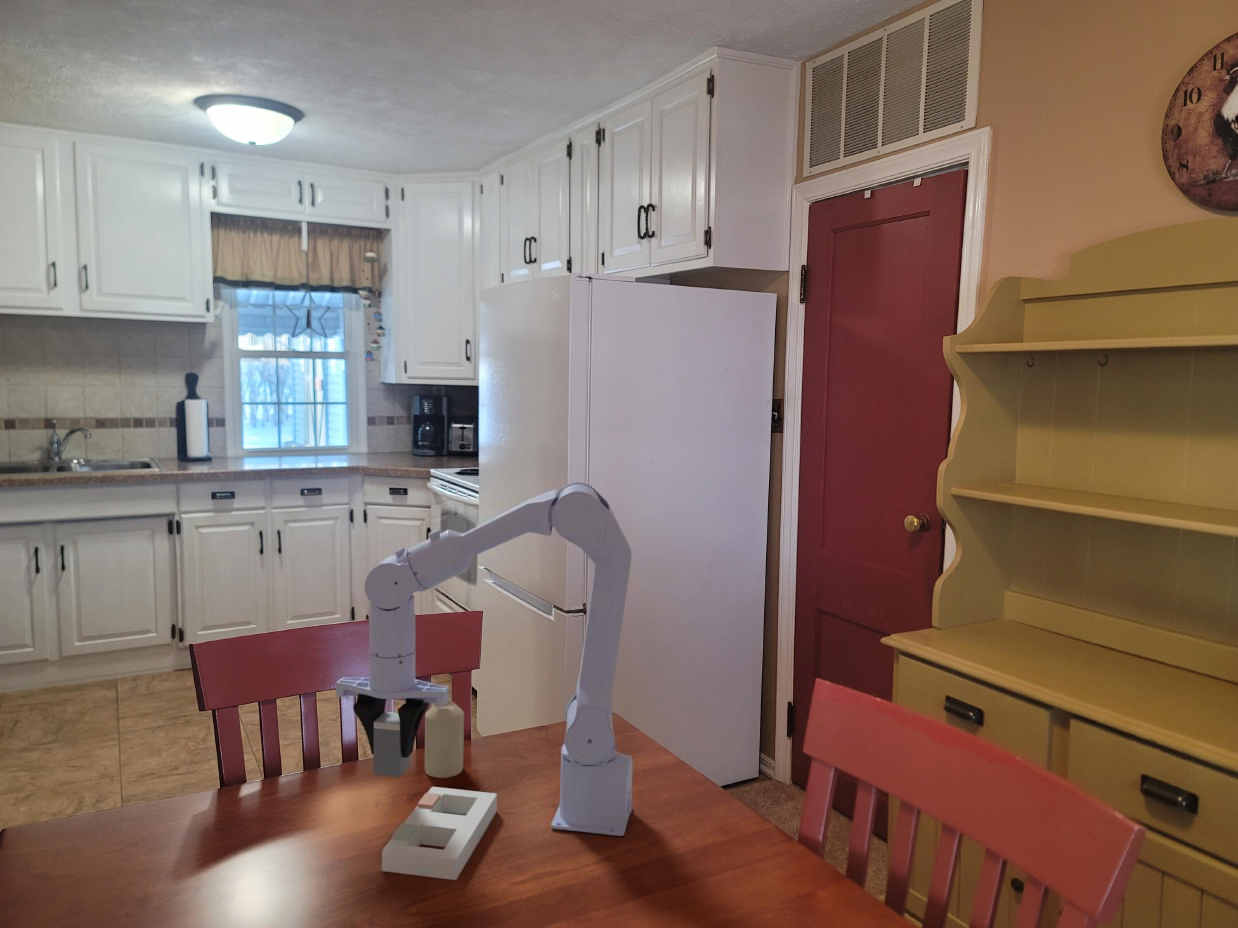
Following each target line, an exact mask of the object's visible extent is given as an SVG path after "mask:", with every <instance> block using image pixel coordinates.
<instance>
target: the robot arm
mask: <svg viewBox="0 0 1238 928" xmlns="http://www.w3.org/2000/svg"><path fill="white" fill-rule="evenodd" d="M557 491H558V489H557V488H555V489H551V490H549V491H547V492H543V493H541V494H538V495H536V496H534V497H532V498H529V499H526V500H525V501H523V502H521V503H519V504H517V505H516V506H513V507H512V508H509V509H508V510H506V511H504V512H502V513H500V514H498V515H497V516H495V517H492V518H491V519H488V520H486V521H485V522H483V523H481V524H479V525H477V526H475V527H473V528H472V529H469V530H467V531H465V532H460V531H456V530H453V529H447V530H445V531H441V530H440V529H439V528H437V529H435V530H434V531H431V532H430V533H429V534H428V537H429V538H428V539H426V540H424V541H422V542H419V543H417V544H416V545H414V546H412V547H410V548H408V549H405V547H401V548H399V549H397V550H396V551H395V552H394V553H395V555H390V556H387V557H385V558H384V559H383V558H382V560H381V561H380V562H378V563H377V564H376V565H375V567H373V568H372V569H371V570H370V571H369V573H368V574H367V576H366V579H365V581H364V593H365V596H366V597H367V599H368V601H369V611H370V612H369V618H368V626H369V628H368V632H369V633H368V635H369V637H368V639H369V640H368V641H369V642H368V646H369V647H368V648H369V649H368V650H369V656H368V658H369V659H368V660H369V664H368V665H369V671H368V672H369V673H368V675H369V676H367V677H364V676H363V677H347V676H343V677H341V678H340V679H338V680H337V681H336V682H335V696H336V697H337V698H345V697H347V696H349V697H356V698H357V699H356V702H355V703H354V704H353V705H352V707H353V713H355V715H356V717H357V718H358V719H359V721H360V723H361V725H362V727H363V729H364V733H365V735H366V737H367V741H368V745H369V748H370V752H371V755H373V756H374V721H375V720H376V719H378V718H379V717H380V716H381V715H382V714H383V713H384V712H386V711H385V710H386V704H387V703H386V702H387V700H395V701H404V702H405V703H403V704H402V705H401V706H400V707H399V708H397V713H398V715H399V719H400V725H401V753H402V757H403V758H407V757H408V756H409V755H410V756H411V755H412V753H413V751H414V747H415V746H414V745H415V741H416V737H417V734H418V730H419V728H420V724H421V722H422V719H423V718H424V716H425V714H426V712H427V709H428V707H429V705H430V704H434V703H436V705H437V706H444V705H445V704H446V703H447V702H448V701H450V686H449V685H440V684H436V683H432V682H428V681H423V680H420V679H416V614H415V613H416V612H415V595H414V593H415V592H425V591H427V590H429V589H433V588H434V587H436V586H438V585H440V584H442V583H444V582H446V581H448V580H450V579H452V578H454V577H457V576H459V575H460V574H463V573H464V572H467V571H469V569H470V567H471V564H472V560H473V558H474V556H477V555H479V554H482V553H484V552H486V551H488V550H491V549H493V548H496V547H498V546H500V545H502V544H504V543H507V542H509V541H511V540H514V539H516V538H519V537H520V536H522V535H525V534H528V533H533V534H538V535H543V536H547V537H551V536H552V530H553V528H554V530H555V531H556V532H557V534H558V535H559V536H560V537H562V538H563V539H564V540H566V541H567V542H570V543H571V544H573V545H575V546H577V547H579V548H580V549H581V550H582V551H583V552H584V553H585V555H586V556H587V557H588V558H589V560H591V561H592V563H593V564H594V568H593V572H592V581H591V589H590V595H589V601H588V609H587V617H586V624H585V631H584V638H583V643H582V644H583V645H582V653H581V660H580V668H579V672H578V673H579V674H578V678H577V683H576V689H575V692H574V695H573V696H572V698H571V699H570V700H569V702H568V704H567V705H566V710H565V719H566V726H565V727H566V729H565V731H566V732H565V735H564V743H563V745H562V746H561V751H560V784H559V785H560V786H559V788H560V791H559V805H558V807H557V809H556V812H555V815H554V817H553V818H552V822H551V824H550V827H551V829H556V830H565V831H573V832H582V833H583V832H584V833H591V834H600V835H608V836H619V837H622V836H624V835H625V833H626V829H627V825H628V822H629V818H630V815H631V813H632V808H633V798H632V795H633V793H632V792H633V763H634V762H633V757H632V756H631V755H628V754H623V753H622V752H619V751H617V746H616V744H615V740H616V738H615V732H614V729H613V728H614V726H613V709H612V708H613V706H612V705H613V690H614V681H615V677H616V668H617V667H616V666H617V661H618V653H619V646H620V640H621V634H622V633H621V632H622V626H623V619H624V612H625V605H626V598H627V592H628V584H629V578H630V572H631V571H630V570H631V566H632V549H631V547H630V544H629V542H628V540H627V538H626V536H625V534H624V532H623V530H622V528H621V526H620V524H619V522H618V520H617V519H616V516H615V514H614V512H613V509H612V508H611V506H610V504H609V502H608V501H607V500H606V499H605V498H604V496H602V494H600V492H598V491H597V489H596V488H594V487H593V486H592V485H590V484H588V483H586V482H580V481H576V482H571V483H568V484H566V485H564V486H563V487H562V488H560V490H559V491H558V492H557Z"/></svg>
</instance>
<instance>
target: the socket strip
mask: <svg viewBox="0 0 1238 928" xmlns="http://www.w3.org/2000/svg"><path fill="white" fill-rule="evenodd" d="M424 793H425V794H424V795H423V796H422V797H421V799H420V800H419V801H418V803H417V805H416V806H415V808H414V809H413V810H412V812H411V813H410V814H409V815H408V816H407V818H406V819H405V821H404V822H403V823H401V824H400V825H399V826H398V828H397V829H396V830H395V831H394V833H393V834H392V835H391V839H390V840H389V841H388V842H387V844H386V845H385V846H384V847H383V848H382V850H381V872H388V873H395V874H404V875H411V876H419V877H427V878H435V879H445V880H451V881H457V879H458V878H459V876H460V875H461V873H462V872H463V869H464V868H465V866H466V865H467V863H468V861H469V859H470V857H471V856H472V854H473V852H474V851H475V849H476V847H477V845H479V842H480V841H481V839H482V837H483V836H484V835H485V832H486V830H487V829H488V827H489V826H490V824H491V822H492V820H493V819H494V817H495V815H496V813H497V811H498V810H497V809H498V807H497V806H498V793H497V792H496V793H495V792H486V791H485V792H483V791H477V790H475V791H474V790H466V789H457V788H448V787H438V786H431V787H430V789H429V790H428V791H427V792H424ZM420 845H423V846H431V847H423V846H420ZM432 846H434V847H440V848H441V847H442V848H443V849H439V848H432Z"/></svg>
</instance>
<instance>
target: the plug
mask: <svg viewBox="0 0 1238 928" xmlns="http://www.w3.org/2000/svg"><path fill="white" fill-rule="evenodd" d="M409 767H411V754H410V755H409V756H408V757H407V758H403V757H402V753H401V725H400V719H399V715H398V712H394V711H393V712H392V711H385V712H384V713H383V714H382V715H381V716H380V717H379V718H378V719H376V720H375V721H374V755H373V775H375V776H384V777H394V778H400V777H401V776H402V775H403V774H404V773H405V772H406V771H407V770H408V769H409Z"/></svg>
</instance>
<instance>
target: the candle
mask: <svg viewBox="0 0 1238 928" xmlns="http://www.w3.org/2000/svg"><path fill="white" fill-rule="evenodd" d="M424 718H425V719H424V771H425V774H426V775H427V776H429V777H432V778H436V779H447V778H452V777H453V778H454V777H455V776H458V775H459V774H461V772H462V771H463V769H464V735H465V734H464V725H465V723H464V722H465V721H464V720H465V713H464V711H463V709H462V708H460V707H459V706H458V705H457V704H456V703H455V702H454V701H453V700H449V701H448V702H447V703H446V704H445V705H444V706H437V705H436V703H433V705H432V706H431V707H430V708H429V709H428V710H426V711H425V713H424Z"/></svg>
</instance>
